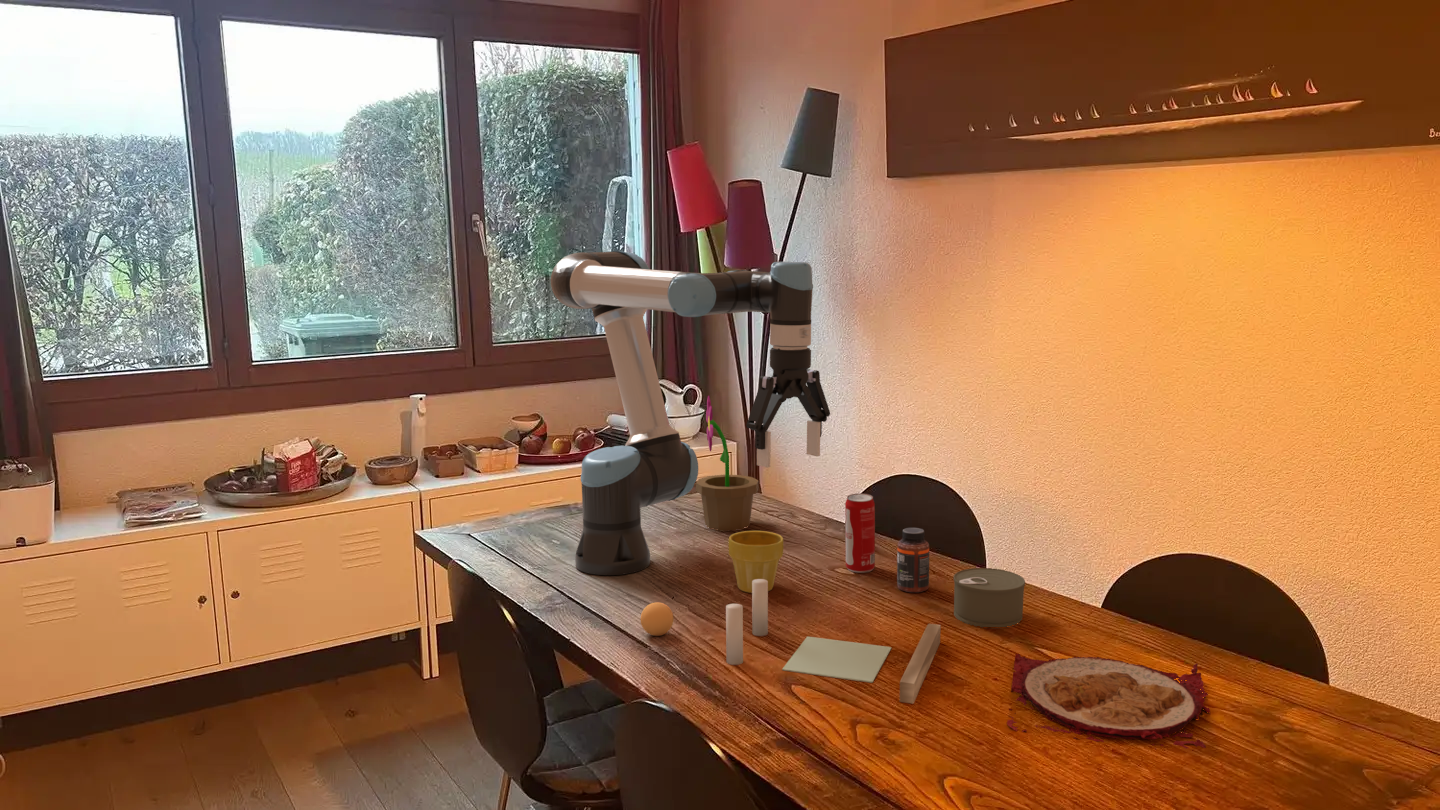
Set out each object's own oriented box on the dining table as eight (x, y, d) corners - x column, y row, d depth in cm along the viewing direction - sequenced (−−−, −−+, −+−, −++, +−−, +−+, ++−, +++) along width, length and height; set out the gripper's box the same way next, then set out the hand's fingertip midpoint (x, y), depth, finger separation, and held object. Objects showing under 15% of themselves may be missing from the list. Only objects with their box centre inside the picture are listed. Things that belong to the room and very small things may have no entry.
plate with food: (1015, 665, 165) (1015, 644, 164) (1200, 682, 156) (1201, 659, 156) (1005, 739, 142) (1006, 714, 141) (1222, 763, 133) (1223, 736, 133)
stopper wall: (899, 701, 150) (899, 681, 150) (927, 641, 172) (928, 623, 172) (913, 703, 150) (913, 683, 149) (940, 642, 172) (940, 624, 171)
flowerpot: (693, 518, 249) (692, 392, 244) (754, 515, 250) (753, 390, 245) (699, 534, 235) (697, 401, 230) (763, 532, 236) (762, 400, 231)
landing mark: (782, 670, 162) (782, 668, 161) (807, 637, 174) (807, 636, 174) (872, 682, 157) (872, 681, 157) (891, 648, 170) (891, 647, 170)
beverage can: (874, 564, 212) (875, 492, 210) (875, 574, 206) (876, 500, 204) (844, 563, 213) (845, 491, 211) (844, 574, 207) (845, 499, 204)
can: (1037, 624, 180) (1039, 585, 178) (974, 632, 176) (976, 593, 175) (999, 601, 191) (1001, 564, 190) (940, 608, 188) (941, 571, 186)
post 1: (724, 663, 164) (723, 608, 163) (729, 657, 167) (729, 602, 165) (739, 665, 163) (739, 610, 162) (745, 659, 166) (744, 604, 164)
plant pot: (789, 581, 203) (789, 532, 201) (774, 599, 193) (774, 547, 191) (738, 576, 206) (738, 528, 204) (721, 593, 196) (720, 542, 195)
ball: (635, 638, 175) (634, 606, 174) (649, 626, 180) (648, 596, 179) (665, 642, 173) (665, 610, 172) (678, 630, 178) (678, 599, 177)
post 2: (750, 634, 176) (749, 583, 174) (755, 629, 178) (754, 578, 177) (765, 636, 175) (764, 584, 173) (769, 631, 177) (769, 579, 176)
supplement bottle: (932, 585, 199) (933, 527, 198) (924, 595, 194) (925, 536, 192) (901, 581, 202) (902, 524, 200) (892, 591, 197) (893, 532, 195)
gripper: (757, 354, 181) (756, 474, 185) (850, 343, 198) (847, 453, 202) (727, 350, 187) (726, 467, 190) (820, 340, 204) (817, 447, 207)
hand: (788, 460), depth 196 cm, fingers open, 13 cm apart
